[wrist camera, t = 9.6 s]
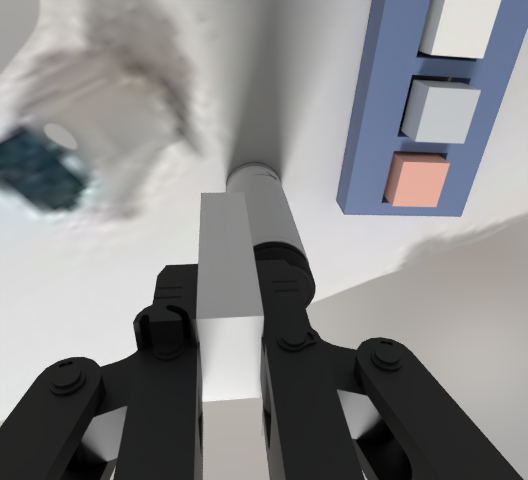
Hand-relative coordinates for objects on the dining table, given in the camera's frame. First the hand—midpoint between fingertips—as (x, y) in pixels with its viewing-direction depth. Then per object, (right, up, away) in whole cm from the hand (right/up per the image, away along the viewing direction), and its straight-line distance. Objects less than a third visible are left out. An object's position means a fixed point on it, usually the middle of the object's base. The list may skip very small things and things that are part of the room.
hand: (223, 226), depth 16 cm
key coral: (+17, +7, +32) cm, 37 cm away
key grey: (+18, +13, +27) cm, 35 cm away
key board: (+18, +14, +30) cm, 38 cm away
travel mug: (0, +6, +33) cm, 34 cm away
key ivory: (+19, +20, +24) cm, 37 cm away
